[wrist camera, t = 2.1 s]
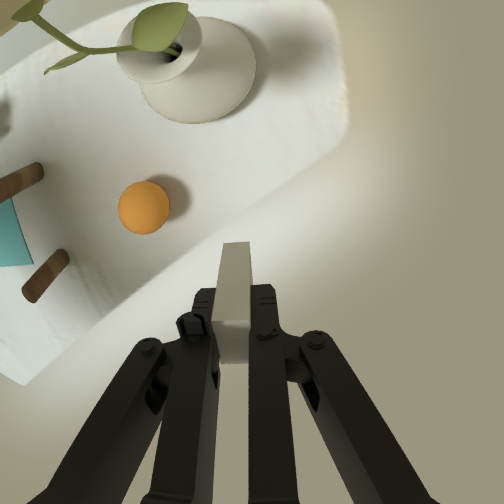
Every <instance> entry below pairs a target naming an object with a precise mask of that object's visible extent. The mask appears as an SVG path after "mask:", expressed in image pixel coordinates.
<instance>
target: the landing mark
mask: <svg viewBox="0 0 504 504" xmlns="http://www.w3.org/2000/svg"><path fill="white" fill-rule="evenodd" d="M30 264H33V261H32V259H31V256H30V254H29V251H28V248H27V246H26V243H25V240H24V238H23V235H22V232H21V229H20V226H19V223H18V220H17V217H16V213H15V210H14V207H13V203H12V199H11V198H9V199H7V200H6V201H4V202H3V203H1V204H0V267H5V266H17V265H30Z"/></svg>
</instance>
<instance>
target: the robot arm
mask: <svg viewBox="0 0 504 504" xmlns="http://www.w3.org/2000/svg"><path fill="white" fill-rule="evenodd" d="M176 325H177V328H178V331H179V334H180V338H179V339H177V340H175V341H171V342H167V343H163V344H162V342H161V341H160V340H159V339H156V338H145V339H143V340H141V341H139V342H138V343H137V344H136V345H135V346H134V348H133V350H132V351H131V352H130V354H129V355H128V357H127V358H126V360H125V361H124V363H123V364H122V366H121V367H120V369H119V370H118V372H117V373H116V375H115V376H114V378H113V379H112V381H111V382H110V384H109V386H108V387H107V389H106V390H105V392H104V393H103V395H102V396H101V398H100V400H99V401H98V403H97V404H96V406H95V407H94V409H93V411H92V412H91V414H90V416H89V417H88V419H87V420H86V422H85V423H84V425H83V427H82V428H81V430H80V432H79V433H78V435H77V437H76V438H75V440H74V441H73V443H72V445H71V447H70V448H69V450H68V452H67V453H66V455H65V457H64V458H63V460H62V462H61V464H60V465H59V467H58V469H57V471H56V472H55V474H54V476H53V478H52V479H51V481H50V483H49V485H48V487H47V488H46V489H45V490H44V491H43V492H41V493H40V494H39V495H37V496H36V497H35V498H34V499H32V500H31V501H30V502H28V503H27V504H121V503H122V501H123V499H124V497H125V495H126V493H127V491H128V488H129V486H130V484H131V482H132V480H133V478H134V476H135V474H136V472H137V470H138V468H139V466H140V464H141V462H142V460H143V458H144V455H145V453H146V451H147V449H148V447H149V445H150V443H151V441H152V439H153V437H154V435H155V433H156V431H157V429H158V427H159V425H160V422H161V421H162V423H161V429H160V434H159V439H158V445H157V451H156V456H155V462H154V468H153V474H152V480H151V487H150V491H149V493H148V494H146V495H145V496H144V497H143V499H142V500H141V503H140V504H212V498H213V478H214V460H215V443H216V429H217V414H218V401H219V387H220V369H219V360H220V362H221V364H242V363H249V500H248V504H300V503H299V499H298V490H297V479H296V467H295V456H294V445H293V435H292V424H291V415H290V405H289V397H288V396H289V395H288V387H287V381H290V382H296V383H298V386H299V388H300V390H301V392H302V395H303V397H304V399H305V401H306V403H307V405H308V408H309V410H310V412H311V414H312V416H313V418H314V420H315V423H316V425H317V427H318V429H319V431H320V433H321V435H322V437H323V439H324V442H325V444H326V446H327V448H328V450H329V452H330V454H331V456H332V459H333V461H334V463H335V465H336V467H337V469H338V471H339V473H340V475H341V477H342V479H343V481H344V483H345V486H346V488H347V490H348V492H349V494H350V496H351V498H352V500H353V502H354V504H440V503H438V502H436V501H435V500H434V499H432V498H431V497H430V496H429V494H428V492H427V490H426V489H425V487H424V485H423V484H422V482H421V480H420V478H419V477H418V475H417V473H416V472H415V470H414V469H413V467H412V465H411V463H410V462H409V460H408V458H407V457H406V455H405V453H404V452H403V450H402V449H401V447H400V445H399V444H398V442H397V441H396V439H395V437H394V435H393V434H392V432H391V431H390V429H389V427H388V426H387V424H386V423H385V421H384V419H383V418H382V416H381V414H380V413H379V411H378V410H377V408H376V406H375V405H374V403H373V402H372V400H371V398H370V397H369V395H368V394H367V392H366V391H365V389H364V387H363V386H362V384H361V383H360V381H359V380H358V378H357V376H356V375H355V373H354V372H353V370H352V369H351V367H350V365H349V364H348V362H347V361H346V359H345V358H344V356H343V355H342V353H341V352H340V350H339V348H338V347H337V345H336V344H335V342H334V341H333V339H332V338H331V337H330V336H329V335H328V334H327V333H325V332H323V331H317V330H315V331H309V332H307V333H305V334H304V335H303V336H302V337H297V336H292V335H289V334H287V333H285V332H284V331H283V330H282V329H281V327H280V324H279V317H278V308H277V300H276V293H275V289H274V288H273V287H272V285H271V284H261V285H253V279H252V268H251V256H250V245H249V242H235V243H224V244H223V250H222V256H221V262H220V268H219V274H218V280H217V286H216V288H201V289H200V290H199V291H198V292H197V294H196V295H195V298H194V303H193V306H192V311H191V312H187V313H185V314H183V315H181V316H180V317H179V318H178V319H177V321H176Z"/></svg>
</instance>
